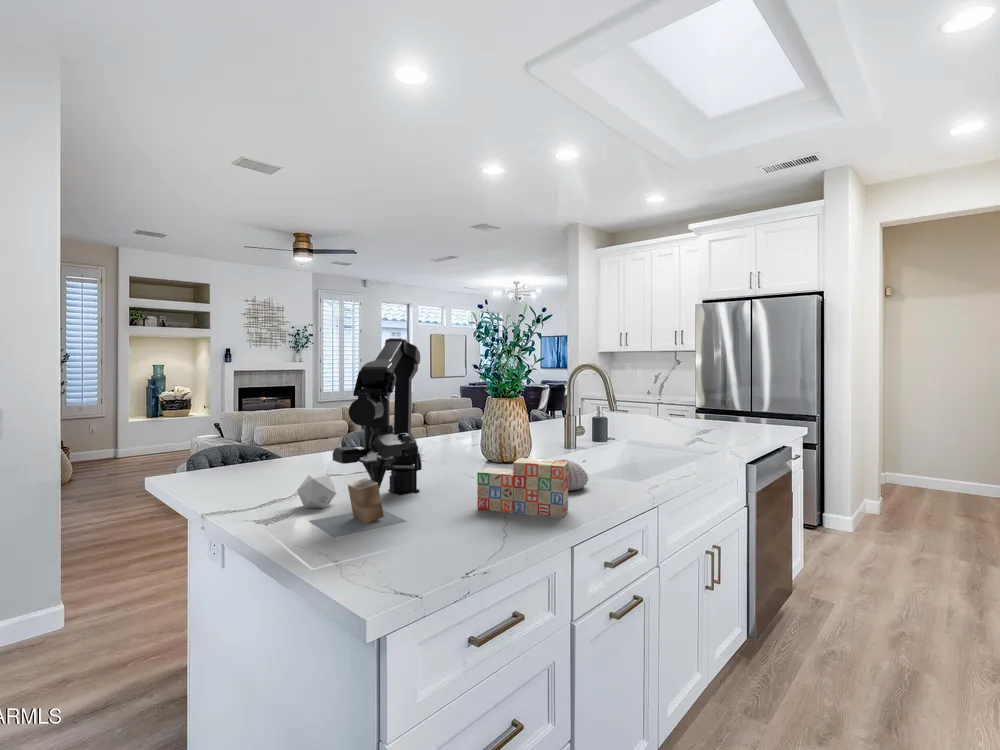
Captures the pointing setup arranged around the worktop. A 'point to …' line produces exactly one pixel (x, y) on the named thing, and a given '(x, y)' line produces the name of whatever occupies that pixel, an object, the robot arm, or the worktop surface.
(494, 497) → the stack of blocks
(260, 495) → the worktop surface
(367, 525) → the rubber mat
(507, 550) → the worktop surface
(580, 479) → the sea urchin shell
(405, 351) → the robot arm
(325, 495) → the die
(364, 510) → the wooden block
